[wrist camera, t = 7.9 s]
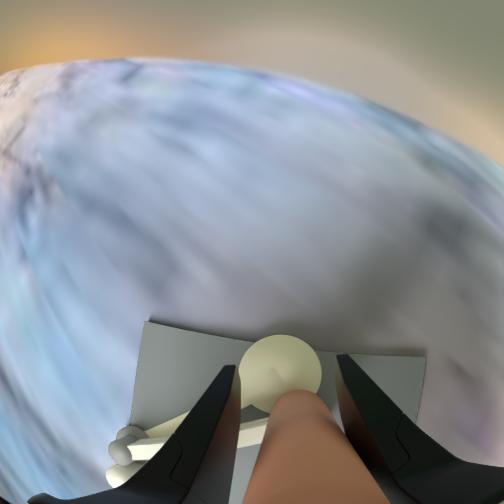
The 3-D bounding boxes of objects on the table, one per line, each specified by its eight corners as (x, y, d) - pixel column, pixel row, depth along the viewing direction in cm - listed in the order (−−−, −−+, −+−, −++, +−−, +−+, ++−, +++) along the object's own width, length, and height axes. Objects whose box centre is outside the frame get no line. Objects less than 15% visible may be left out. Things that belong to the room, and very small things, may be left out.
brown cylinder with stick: (130, 467, 13) (0, 533, 3) (115, 425, 14) (-34, 462, 4) (333, 431, 13) (403, 557, 3) (318, 381, 14) (383, 458, 3)
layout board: (353, 577, 9) (354, 583, 8) (120, 536, 12) (115, 540, 11) (424, 346, 14) (430, 345, 14) (139, 309, 17) (133, 307, 16)
